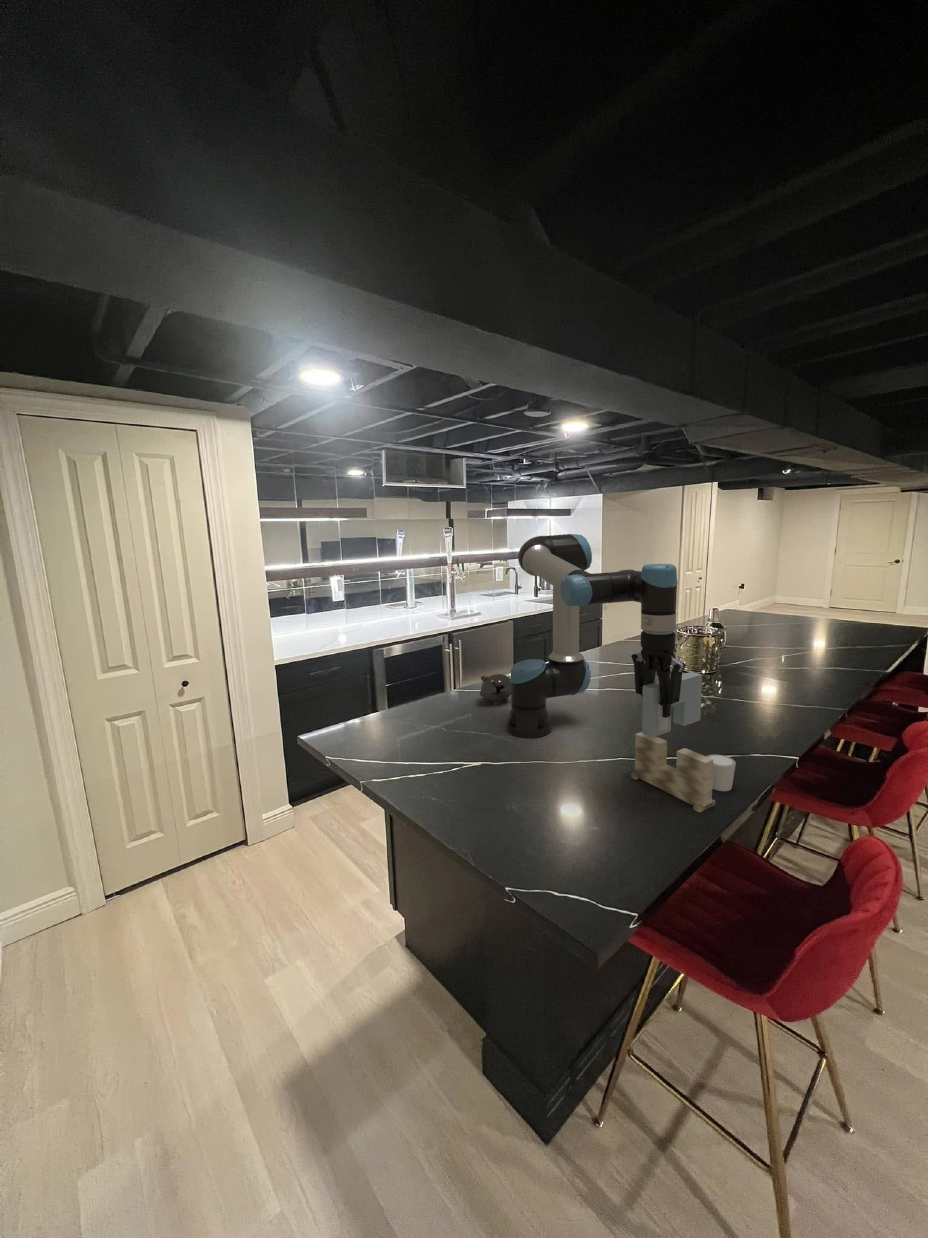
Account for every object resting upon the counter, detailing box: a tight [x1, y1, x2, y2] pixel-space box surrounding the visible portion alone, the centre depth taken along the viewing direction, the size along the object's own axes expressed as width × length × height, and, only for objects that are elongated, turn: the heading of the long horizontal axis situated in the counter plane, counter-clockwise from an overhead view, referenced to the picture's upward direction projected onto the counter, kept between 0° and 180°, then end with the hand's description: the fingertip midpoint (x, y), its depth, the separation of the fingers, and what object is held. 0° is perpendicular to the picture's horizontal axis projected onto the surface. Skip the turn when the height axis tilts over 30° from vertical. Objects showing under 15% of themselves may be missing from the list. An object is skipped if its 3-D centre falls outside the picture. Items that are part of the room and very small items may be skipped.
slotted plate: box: [641, 671, 703, 738], centre depth 117 cm, size 18×3×12 cm, turn 120°
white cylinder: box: [706, 753, 737, 792], centre depth 122 cm, size 7×7×7 cm
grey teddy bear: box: [479, 673, 511, 706], centre depth 189 cm, size 11×15×12 cm
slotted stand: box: [630, 731, 716, 814], centre depth 120 cm, size 20×6×12 cm, turn 30°
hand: (656, 726), depth 115 cm, fingers closed on slotted plate, 3 cm apart
